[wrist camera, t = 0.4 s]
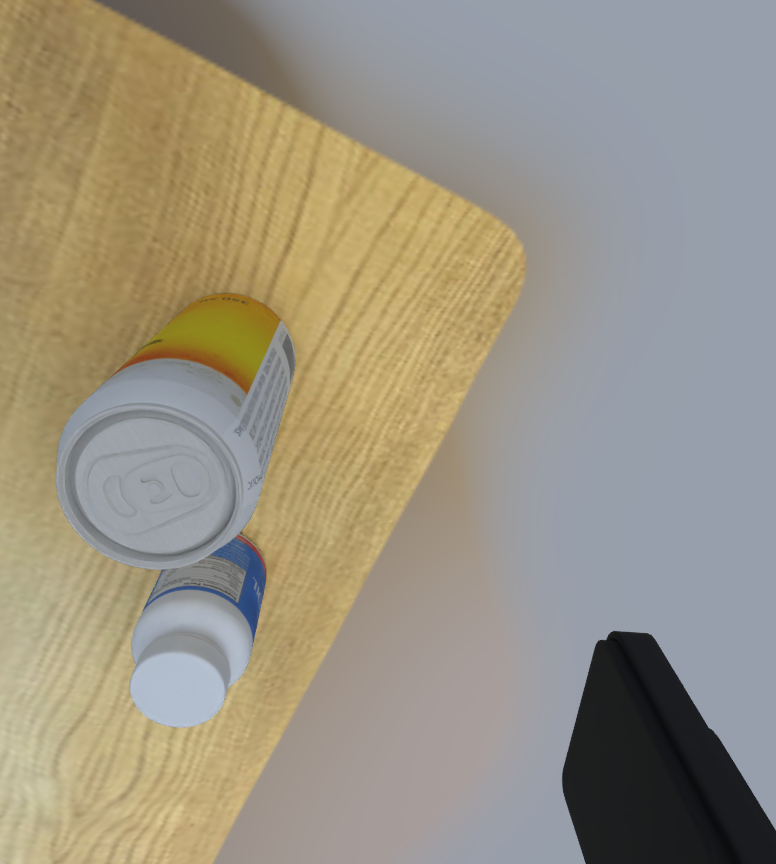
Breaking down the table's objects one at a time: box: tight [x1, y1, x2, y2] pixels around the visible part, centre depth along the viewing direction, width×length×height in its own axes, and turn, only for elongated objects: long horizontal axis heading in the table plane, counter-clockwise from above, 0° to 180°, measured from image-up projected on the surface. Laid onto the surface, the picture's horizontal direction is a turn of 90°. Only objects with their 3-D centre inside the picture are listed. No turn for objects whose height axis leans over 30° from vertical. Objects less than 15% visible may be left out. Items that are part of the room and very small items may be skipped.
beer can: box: [56, 293, 296, 570], centre depth 27 cm, size 6×6×15 cm
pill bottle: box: [130, 533, 266, 727], centre depth 34 cm, size 6×5×10 cm
